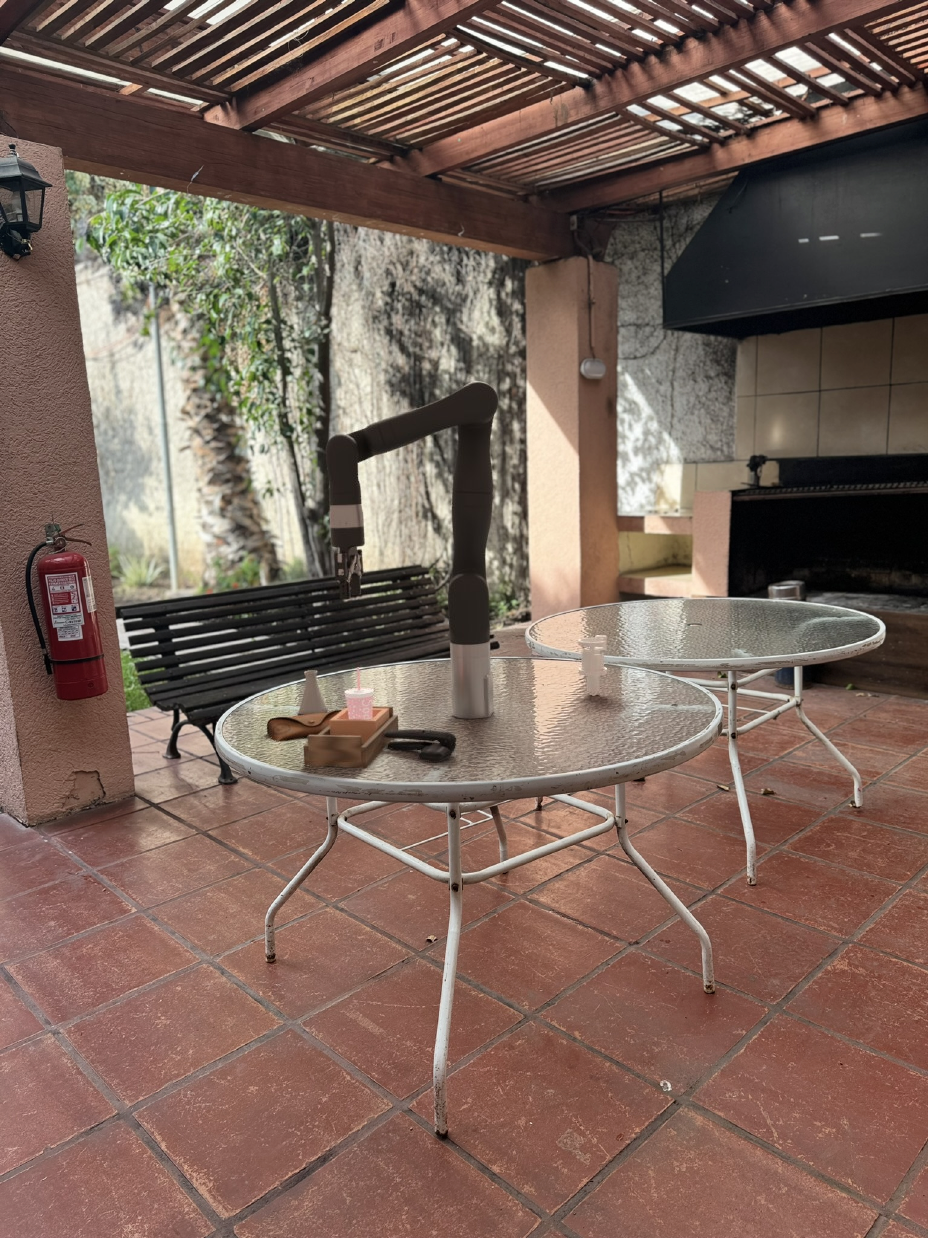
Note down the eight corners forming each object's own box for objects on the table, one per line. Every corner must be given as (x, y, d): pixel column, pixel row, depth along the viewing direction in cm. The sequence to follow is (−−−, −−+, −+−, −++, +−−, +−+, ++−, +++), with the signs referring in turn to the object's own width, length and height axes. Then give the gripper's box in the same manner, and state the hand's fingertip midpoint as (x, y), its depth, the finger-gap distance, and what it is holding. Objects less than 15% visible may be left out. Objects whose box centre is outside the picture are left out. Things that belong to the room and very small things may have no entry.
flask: (321, 716, 211) (319, 675, 210) (293, 715, 213) (290, 674, 211) (332, 708, 218) (330, 668, 217) (304, 708, 220) (302, 668, 218)
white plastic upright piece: (607, 698, 219) (606, 637, 217) (578, 697, 221) (577, 638, 218) (607, 691, 226) (607, 633, 224) (579, 691, 227) (578, 633, 225)
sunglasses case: (274, 742, 190) (269, 712, 192) (269, 751, 196) (265, 722, 198) (356, 731, 197) (350, 702, 199) (348, 740, 203) (343, 712, 205)
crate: (390, 730, 192) (389, 708, 192) (376, 744, 182) (375, 721, 181) (346, 729, 194) (345, 707, 193) (330, 743, 184) (329, 720, 183)
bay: (398, 733, 194) (397, 706, 193) (366, 767, 171) (365, 737, 170) (343, 732, 196) (342, 705, 195) (304, 766, 173) (302, 736, 172)
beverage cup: (351, 738, 184) (348, 671, 182) (343, 731, 190) (339, 666, 188) (379, 734, 187) (376, 668, 185) (370, 727, 192) (367, 663, 190)
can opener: (465, 757, 176) (464, 729, 175) (442, 766, 171) (441, 738, 170) (399, 743, 187) (397, 717, 186) (375, 752, 182) (374, 725, 181)
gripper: (354, 526, 193) (358, 600, 195) (371, 523, 207) (375, 593, 209) (320, 527, 194) (325, 601, 196) (340, 524, 208) (344, 593, 210)
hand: (350, 597), depth 203 cm, fingers open, 8 cm apart
